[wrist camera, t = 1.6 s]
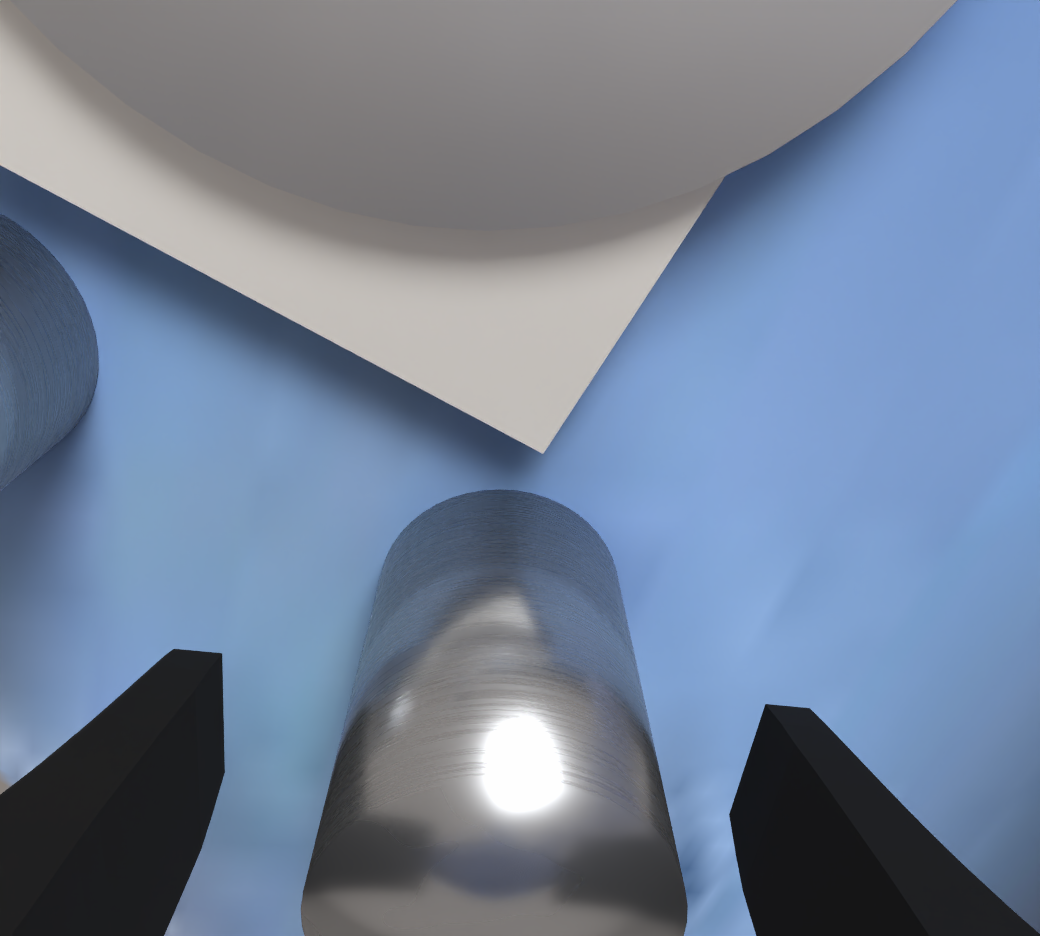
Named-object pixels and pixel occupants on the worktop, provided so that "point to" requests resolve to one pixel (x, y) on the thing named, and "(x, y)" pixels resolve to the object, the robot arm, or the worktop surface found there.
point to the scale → (430, 156)
